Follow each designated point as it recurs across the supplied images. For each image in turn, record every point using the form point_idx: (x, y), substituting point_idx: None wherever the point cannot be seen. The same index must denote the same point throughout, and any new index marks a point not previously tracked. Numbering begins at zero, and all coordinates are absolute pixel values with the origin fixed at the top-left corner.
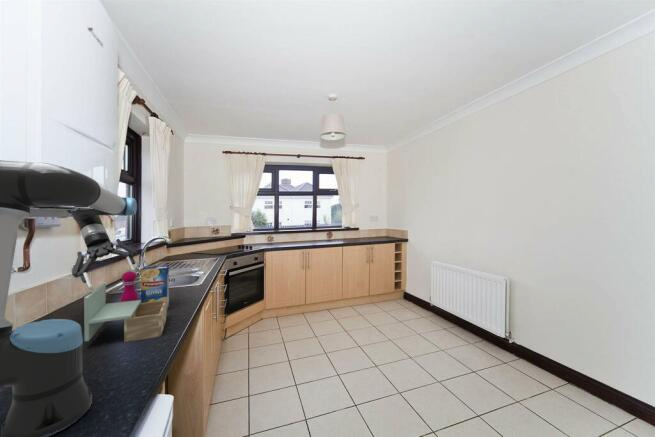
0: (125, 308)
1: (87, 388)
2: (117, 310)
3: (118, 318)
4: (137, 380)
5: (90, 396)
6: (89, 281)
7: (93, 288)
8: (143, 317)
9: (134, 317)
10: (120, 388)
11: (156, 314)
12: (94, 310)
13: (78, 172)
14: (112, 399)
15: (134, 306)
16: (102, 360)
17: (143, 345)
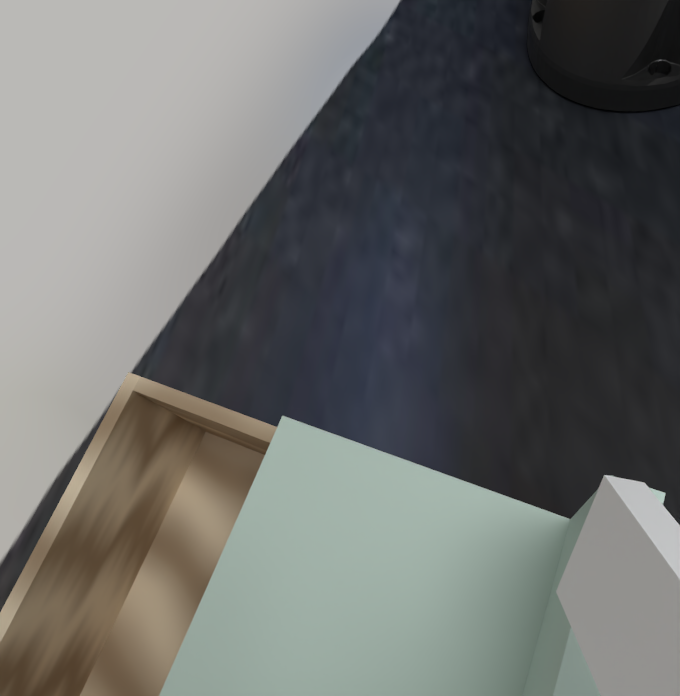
0: (266, 668)
1: (542, 25)
2: (333, 661)
3: (361, 447)
4: (392, 97)
5: (532, 2)
6: (660, 596)
7: (561, 595)
8: (221, 408)
9: (265, 437)
10: (445, 81)
11: (146, 392)
12: (528, 690)
13: None
14: (472, 40)
15: (193, 666)
16: (486, 329)
17: (302, 367)
